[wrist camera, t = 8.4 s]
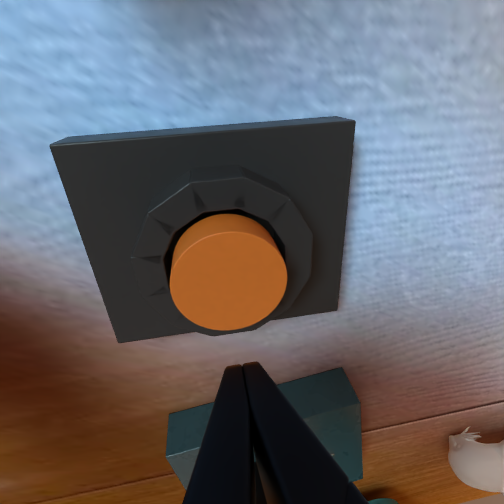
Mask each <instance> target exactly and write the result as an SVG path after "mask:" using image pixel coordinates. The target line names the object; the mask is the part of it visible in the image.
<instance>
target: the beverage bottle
mask: <svg viewBox="0 0 504 504" xmlns="http://www.w3.org/2000/svg"><path fill="white" fill-rule="evenodd" d="M368 502H369V504H398V503H397V501H395V500H394V499H390V498H379V499H374V500H371V501H368Z"/></svg>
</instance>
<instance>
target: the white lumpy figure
mask: <svg viewBox="0 0 504 504" xmlns="http://www.w3.org/2000/svg"><path fill="white" fill-rule="evenodd" d="M469 427H470V426H469ZM469 427H468V428H469ZM468 428H466V429H465V430H464V431H463V432H462V433H461V434H457V435H454V436H453V435H450V436H449V453H448V459H449V464H450V466H451V468H452V469H453V471H454V473H455V474H456V476H457V477H458V478H459V479H460V480H461V481H462V482H464V483H465V484H467V485H469V486H471V487H474V488H477V489H480V490H484V491H489V492H500V493H501V494H503V496H504V440H502V441H501V442H500V443H490V444H485V443H479V442H476V439H473V438H477V437H481V436H480V435H472V434H476V433H480V432H475V433H465V432H467V431H468ZM464 433H465V434H464ZM478 439H479V438H478ZM474 440H475V441H474Z"/></svg>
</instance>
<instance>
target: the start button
mask: <svg viewBox="0 0 504 504" xmlns="http://www.w3.org/2000/svg"><path fill="white" fill-rule="evenodd" d="M286 285H287V269H286V265H285V262H284V260H283V258H282V256H281V254H280V252H279V250H278V248H277V246H276V244H275V242H274V240H273V238H272V236H271V235H270V233H269V232H268V231H267V230H266V229H265V228H264V227H263V226H262V225H261V224H259V223H258V222H256V221H255V220H252V219H250V218H248V217H245V216H242V215H237V214H219V215H213V216H210V217H207V218H204V219H202V220H200V221H198V222H197V223H195V224H193V225H192V226H191V227H190V228H188V229H187V230H186V231H185V232H184V233H183V235H182V236H181V237H180V239H179V241H178V242H177V244H176V247H175V250H174V254H173V259H172V267H171V275H170V292H171V296H172V299H173V301H174V303H175V305H176V307H177V308H178V310H179V311H180V312H181V313H182V314H183V315H184V316H185V317H186V318H187V319H189V320H190V321H192V322H193V323H195V324H197V325H199V326H202V327H205V328H208V329H213V330H236V329H241V328H244V327H248V326H250V325H253V324H255V323H257V322H259V321H260V320H262V319H263V318H265V317H266V316H268V315H269V314H270V313H271V312H272V311H273V310H274V309H275V308H276V307H277V305H278V304H279V302H280V301H281V299H282V297H283V295H284V292H285V290H286Z"/></svg>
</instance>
